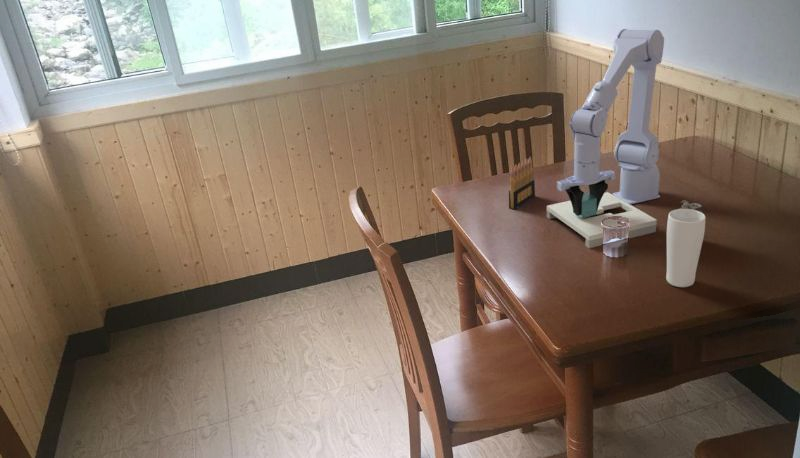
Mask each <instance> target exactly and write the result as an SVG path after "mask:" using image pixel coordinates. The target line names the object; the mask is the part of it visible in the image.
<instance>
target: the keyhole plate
mask: <svg viewBox="0 0 800 458" xmlns="http://www.w3.org/2000/svg"><path fill="white" fill-rule="evenodd" d="M616 208H622V209H623V210H625V212H620V213H619V212H618V213H614V214H613V213H611V212H608V213H604V211H607V210H612V209H616ZM596 215H597V216H596ZM596 215H594V216H590V217H589V218H586V219H583V218H581V217H579V216H578V215H576V214H575V213H573V207H572V203H571V201H570V200H567V201H562V202H558V203H553V204H549V205H546V218H548V220H551V219H552V220H553V219H558V220H560V221H561V222H563V223H564V224H565V225H567V226H568V227H570V228H571V229H572V230H574V231H575V232H577V233H578V234H579V235H580V236H582V237H583V238H585V242H584V243H585V247H587V248H588V249H592V248H596V247H600V246H603V245H602V244H603V229H602V226H601V222H602V220H603V219H604V218H608V217H612V216H622V217H626V218H629V219H630V228H629V239H632V238H637V237H641V236H645V235H649V234H653V233H656V232H657V223H658V222H657V221H658V220H657V219H656V218H655V217H653V216H651V215H649V214H647V213H645V212H644V211H642V210H640V209H639V208H637V207H635V206H633V205H632V204H628V203H626V202H624V201H623V200H621V199H619V198H617V197H616V196H614V195H613V193H610V192H608V191H605V193H604V194H603V196H602V198H601V201H600V203H599V206H598V210H597V211H596ZM603 223H604V224H605V225H607V226H611V227H617V226H622V225H620V224H618V223H617V222H616V220H613V219H607V220H604V222H603Z"/></svg>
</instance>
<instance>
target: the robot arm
mask: <svg viewBox="0 0 800 458" xmlns="http://www.w3.org/2000/svg"><path fill="white" fill-rule="evenodd" d="M664 48H665V37H664V35H663V33H662V32H661V31H660V30H659V29H654V30H652V29H649V30H648V29H647V30H645V29H627V28H621V29H620V30H619V31H618V32H617V34H616V35H615V39H614V41H613V56H612V58H611V61H610V62H609V65H608V67H607V69H606V72H605V74H604V77H603V78H602V81H597V82H596V83H595V84H594V85H593V87H592V89H591V90H590V92H589V94H588V95H587V97H586V100H585V101H584V103H583V104H582V106H581V108H578V109H577V110H575V111H574V112H573V113H572V114H571V117H570V122H569V130H570V132H571V135H572V136H571V138H572V139H571V140H572V141H574V147H573V149H574V155H573V157H574V158H573V161H574V162H573V175H571V176H569V177H566V178H565V179H562V180H558V181H556V189H557V190H558V191H559V192H566V193H567V195H568V197H569V198H568V199H569V201H571V203H572V207H573V211H574V213H575V214H576V215H578V216H579V215H580V214H581V203H582V198H583V195H584V193H585V191H583V190H581V188H580V187H585V186H588V189H589V190H588V191H589V194H591V195H592V196H594V197H596V198H597V206H596V211H597V210H598V206H599V203H600V201H601V198H602V196H603V194H604V193H606V192H607V190H608V188H609V184H608V183H607V182H606V181H611V182H612V181H615V180H616V172H615V171H613V170H602V171H600V157H601V156H600V155H601V154H600V152H601V136H602V134H603V132H605V129H606V126H607V121H608V118H609V114H608V112H609V111H610V109H611V107H612V106H613V104H614V102H615V100H616V99H617V96H618V90H617V87H618V85H619V84H620V82H622V79H623V78H624V76H625V75H626V74H627V73H628V70H629V69H630V67H631V66H632V67H633V79H632V88H631V93H630V94H631V96H630V104H629V112H628V122H627V130H625V131H623V132H622V133H620V134H619V135H618V136H617V141H616V145H615V146H614V150H613V156H614V159H615V162H617V163H618V164H617V165H618V166H619V167H620V176H619V178H620V179H619V191H617V192H616V191H615V192H613V193H612V195H614V196H616V197H617V198H619V199H621V200H623V201H624V202H626V203H628V204H630V205H633V204H639V203H642V202H646V201H651V200H655V199H660V198H661V195H659V191H660V190H659V189H660V178H661V177H660V176H661V175H660V170H659V167H658V166H657V162H658V159H659V155H660V150H659V137H658V136H656V135H655V134H654V133H653V132H652V131H650V121H651V120H650V119H651V114H652V113H651V112H652V106H653V105H652V104H653V95H654V89H655V79H656V71H657V65H659V64H661V63H662V60H663V54H664Z"/></svg>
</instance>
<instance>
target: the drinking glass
mask: <svg viewBox="0 0 800 458" xmlns="http://www.w3.org/2000/svg"><path fill="white" fill-rule="evenodd" d="M706 219H707V217H706V215H705V214H704V213H703V212H699V211H696V210H692V209H679V208H677V209H673V210H671V211H670V212H669V213H668V217H667V223H666V236H665V237H666V272H665V273H666V275H665V278H666V281H667V283H668V284H670V285H671V286H674V287H677V288H688V287H691V286H693V285H694V284H695V281H696V280H695V279H696V273H697V268H698V263H699V259H700V257H701V256H700V255H701V252H702V251H701V250H702V246H703V241H704V236H705V230H706Z"/></svg>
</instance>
